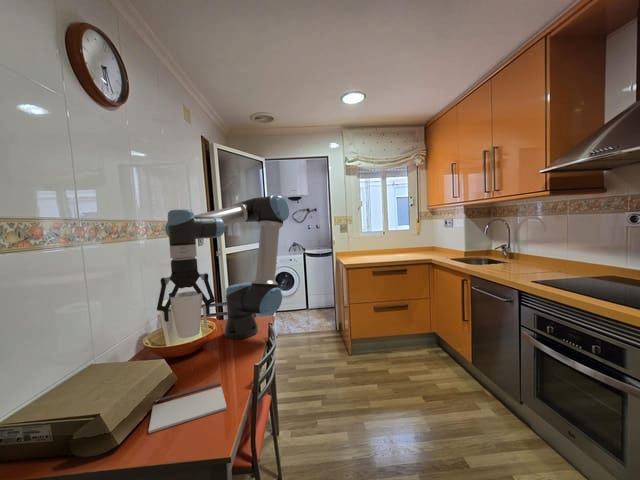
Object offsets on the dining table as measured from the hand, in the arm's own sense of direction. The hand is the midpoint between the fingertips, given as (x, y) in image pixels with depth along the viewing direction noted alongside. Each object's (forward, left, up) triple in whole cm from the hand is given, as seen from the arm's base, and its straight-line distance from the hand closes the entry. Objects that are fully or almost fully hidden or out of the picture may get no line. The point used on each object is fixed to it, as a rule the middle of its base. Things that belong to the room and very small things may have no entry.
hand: (188, 327), depth 89 cm
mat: (+1, +16, -17) cm, 23 cm away
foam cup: (0, 0, -2) cm, 2 cm away
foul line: (+1, +7, -17) cm, 19 cm away
